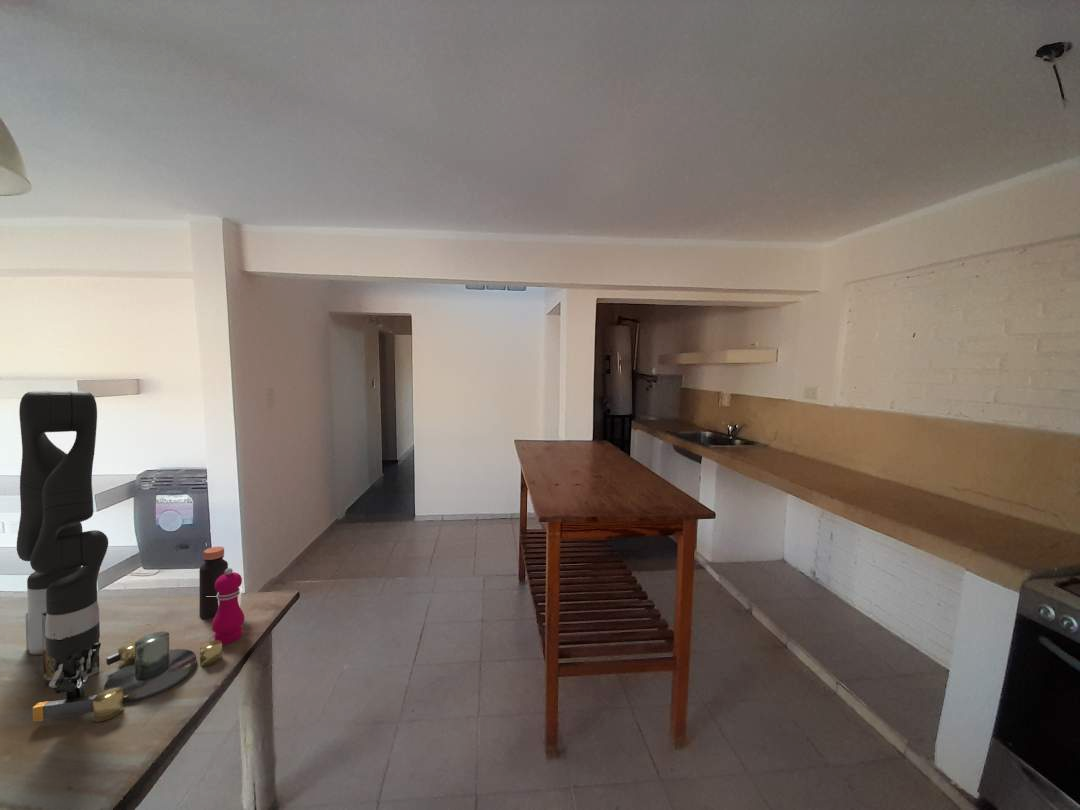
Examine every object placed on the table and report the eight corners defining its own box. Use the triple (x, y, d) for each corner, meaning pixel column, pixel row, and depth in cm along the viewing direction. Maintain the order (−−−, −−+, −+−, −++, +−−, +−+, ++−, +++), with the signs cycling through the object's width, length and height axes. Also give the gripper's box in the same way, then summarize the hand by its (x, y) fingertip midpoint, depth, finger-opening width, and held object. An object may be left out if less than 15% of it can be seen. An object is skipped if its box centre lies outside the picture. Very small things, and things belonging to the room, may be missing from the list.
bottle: (195, 621, 120) (195, 555, 119) (204, 609, 126) (204, 546, 125) (223, 616, 122) (224, 552, 121) (230, 605, 129) (230, 544, 127)
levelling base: (64, 696, 91) (63, 656, 90) (151, 643, 109) (151, 609, 109) (159, 708, 89) (158, 667, 88) (230, 652, 107) (230, 617, 107)
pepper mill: (226, 648, 109) (226, 576, 108) (204, 643, 110) (204, 572, 109) (250, 632, 116) (251, 564, 115) (230, 627, 117) (230, 561, 116)
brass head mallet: (26, 733, 81) (25, 713, 81) (45, 715, 85) (45, 697, 85) (114, 719, 85) (113, 700, 85) (128, 703, 89) (128, 685, 89)
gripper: (72, 610, 90) (74, 683, 92) (22, 649, 78) (25, 732, 79) (116, 605, 93) (117, 676, 94) (74, 642, 81) (76, 723, 82)
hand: (75, 701), depth 87 cm, fingers closed
